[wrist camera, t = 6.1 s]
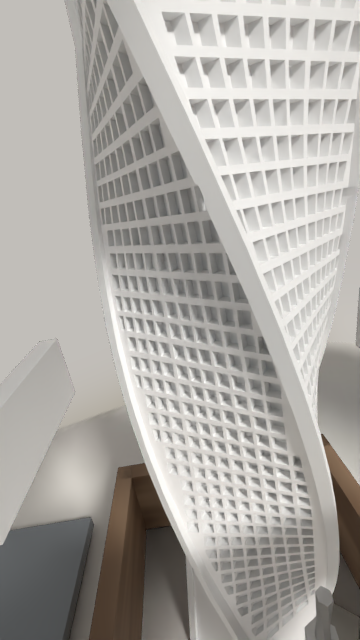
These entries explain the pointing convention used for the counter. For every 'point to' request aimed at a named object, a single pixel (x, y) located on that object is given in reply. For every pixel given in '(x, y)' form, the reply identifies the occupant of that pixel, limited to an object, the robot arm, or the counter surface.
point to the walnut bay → (147, 513)
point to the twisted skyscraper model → (227, 280)
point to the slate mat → (42, 579)
